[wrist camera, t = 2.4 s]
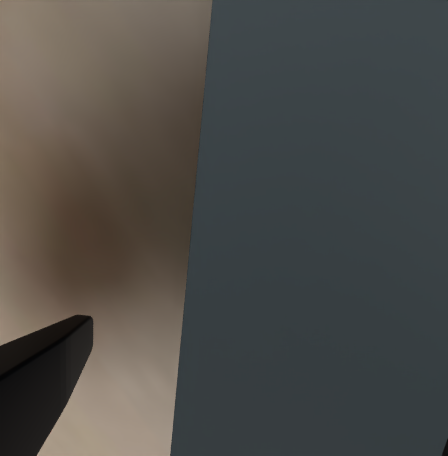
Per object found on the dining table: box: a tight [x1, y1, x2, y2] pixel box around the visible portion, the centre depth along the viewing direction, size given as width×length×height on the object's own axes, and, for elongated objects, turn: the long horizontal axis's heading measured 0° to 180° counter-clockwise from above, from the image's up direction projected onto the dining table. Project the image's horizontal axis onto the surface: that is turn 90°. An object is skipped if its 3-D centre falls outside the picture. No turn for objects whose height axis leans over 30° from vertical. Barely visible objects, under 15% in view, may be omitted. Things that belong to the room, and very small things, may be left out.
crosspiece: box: [170, 0, 448, 456], centre depth 7 cm, size 14×3×8 cm, turn 173°
